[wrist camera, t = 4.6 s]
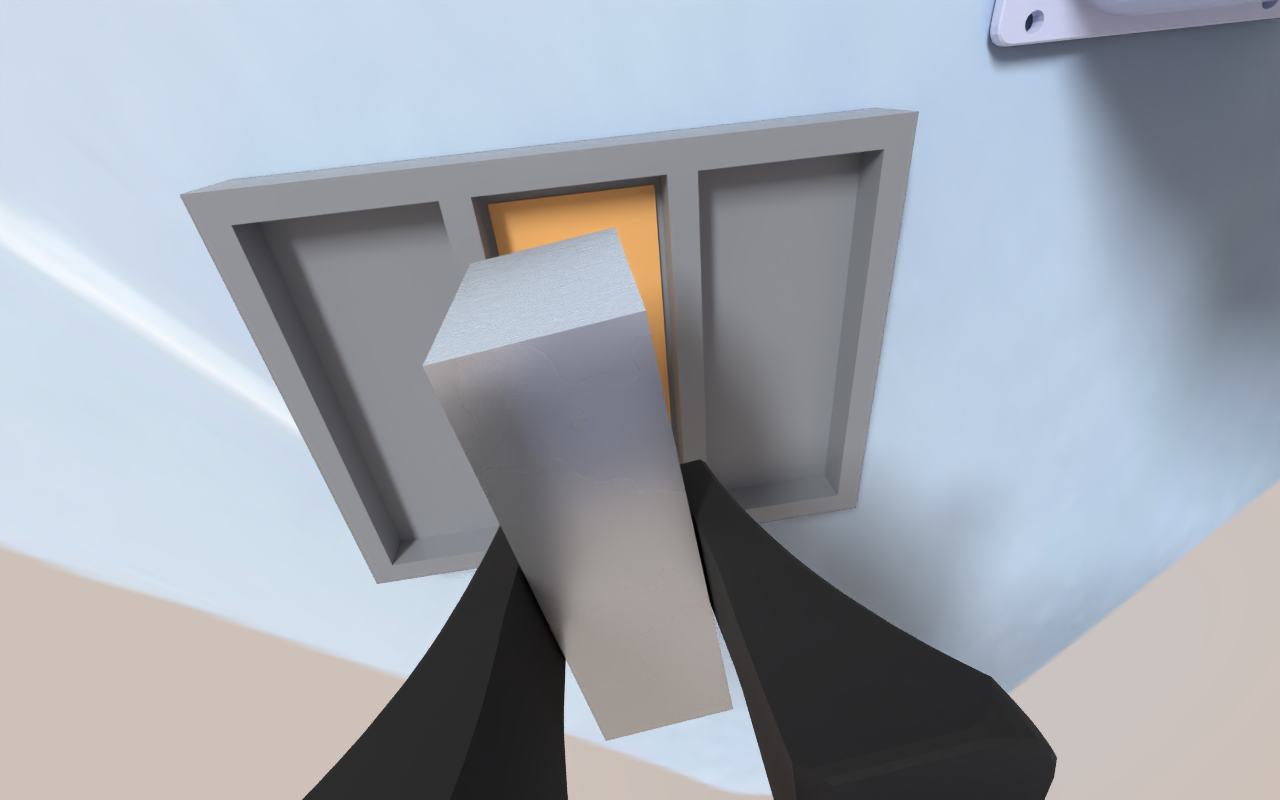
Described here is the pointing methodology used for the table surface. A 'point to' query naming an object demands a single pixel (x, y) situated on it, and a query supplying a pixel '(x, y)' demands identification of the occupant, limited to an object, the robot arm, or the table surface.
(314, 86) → the table surface
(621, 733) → the light grey rectangular block
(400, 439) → the bay rack
